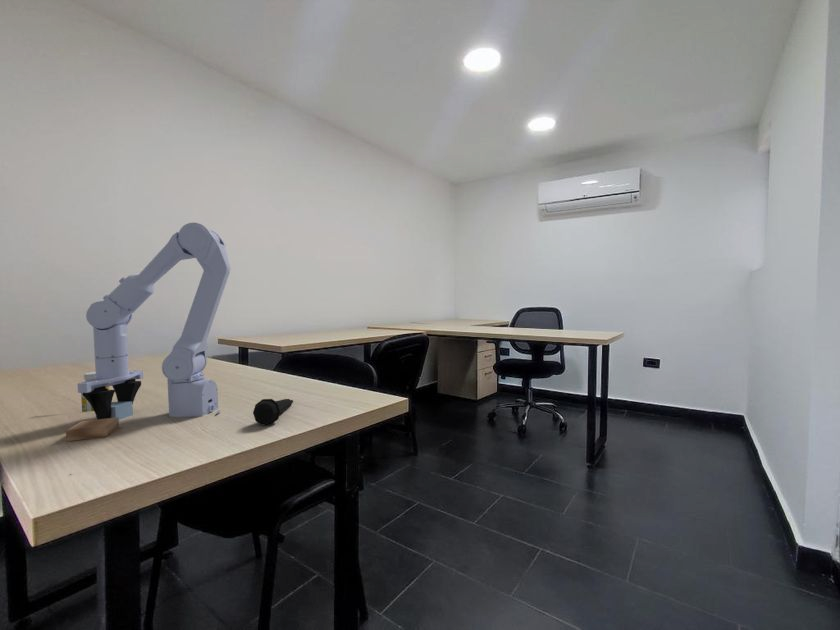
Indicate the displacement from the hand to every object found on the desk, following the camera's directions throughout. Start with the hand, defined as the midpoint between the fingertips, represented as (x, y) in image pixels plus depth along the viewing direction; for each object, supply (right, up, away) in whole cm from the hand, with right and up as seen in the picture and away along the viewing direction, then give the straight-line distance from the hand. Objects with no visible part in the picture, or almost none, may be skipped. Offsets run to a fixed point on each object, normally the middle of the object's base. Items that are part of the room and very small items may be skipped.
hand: (115, 417), depth 85 cm
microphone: (+35, -1, +5) cm, 35 cm away
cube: (0, -2, 0) cm, 2 cm away
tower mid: (+4, 0, -11) cm, 11 cm away
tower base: (+4, -2, -10) cm, 11 cm away
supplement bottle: (-13, -2, +11) cm, 17 cm away
